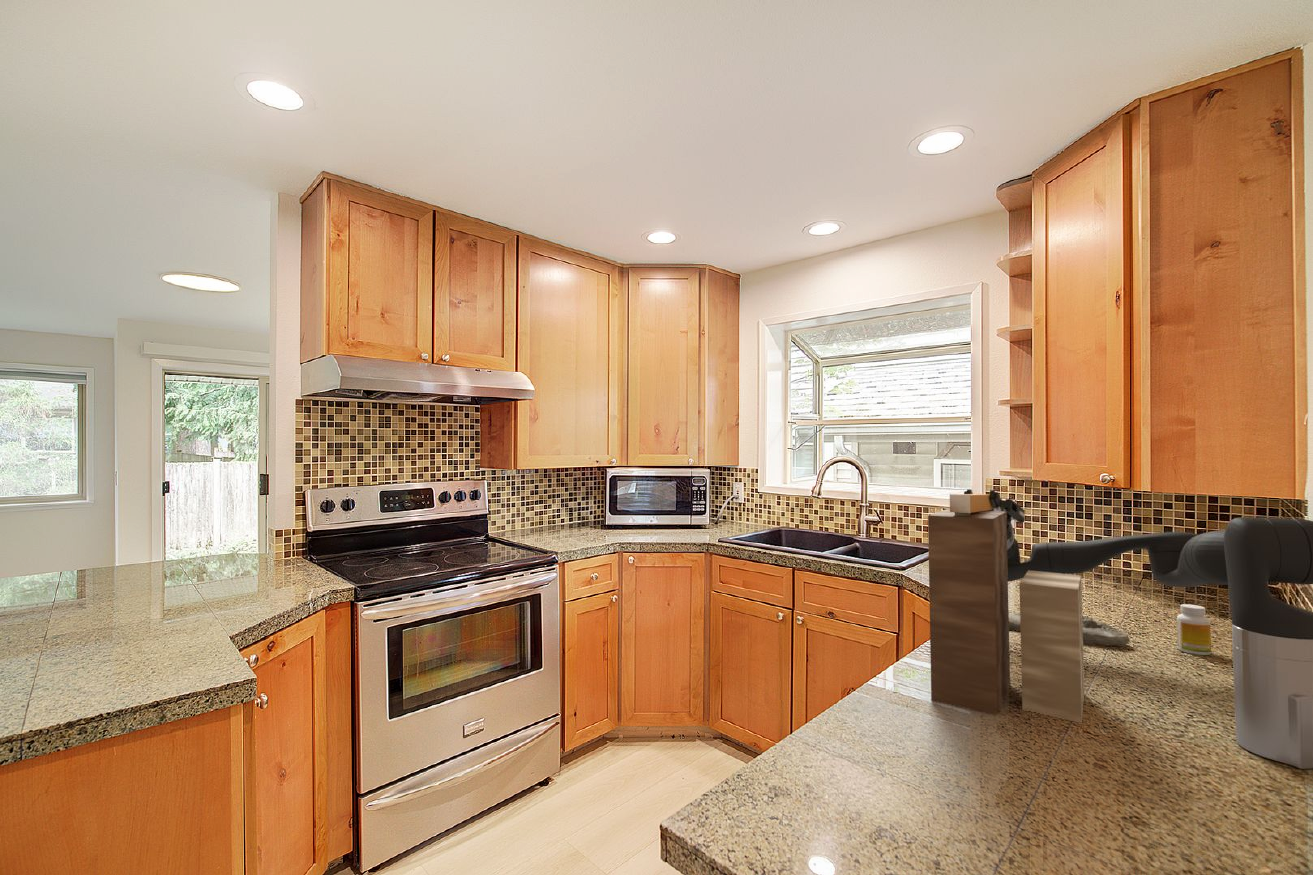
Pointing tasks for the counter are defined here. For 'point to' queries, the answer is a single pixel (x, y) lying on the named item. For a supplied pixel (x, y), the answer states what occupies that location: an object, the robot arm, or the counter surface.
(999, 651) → the tall stand
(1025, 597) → the short stand
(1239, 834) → the counter surface
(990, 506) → the pale tan wood block
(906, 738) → the counter surface
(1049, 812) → the counter surface
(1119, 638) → the long grey stone
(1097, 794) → the counter surface
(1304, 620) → the robot arm
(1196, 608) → the supplement bottle
